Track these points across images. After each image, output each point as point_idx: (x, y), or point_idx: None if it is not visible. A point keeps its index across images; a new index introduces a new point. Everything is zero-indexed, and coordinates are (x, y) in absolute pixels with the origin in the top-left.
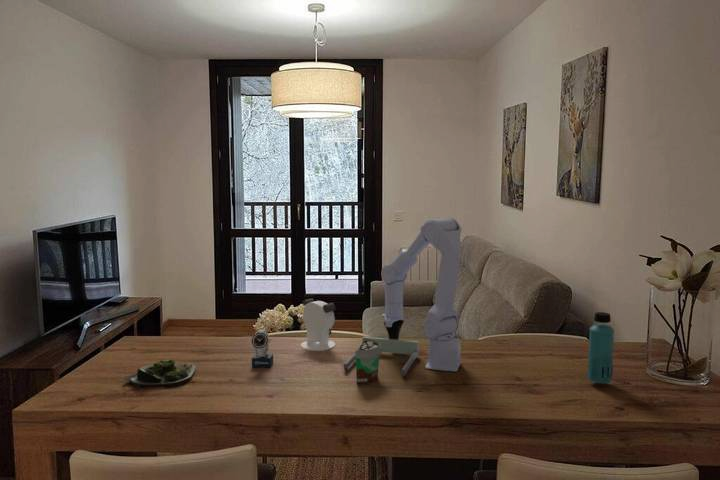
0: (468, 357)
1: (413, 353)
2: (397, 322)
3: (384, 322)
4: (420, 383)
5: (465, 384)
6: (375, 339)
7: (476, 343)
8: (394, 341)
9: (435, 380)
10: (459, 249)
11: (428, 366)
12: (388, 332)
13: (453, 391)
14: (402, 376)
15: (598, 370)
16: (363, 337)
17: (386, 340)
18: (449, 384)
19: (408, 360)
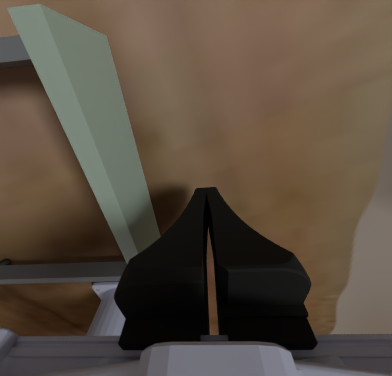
0: (212, 319)
1: (118, 277)
2: (219, 334)
3: (130, 288)
4: (13, 287)
5: (75, 326)
6: (80, 150)
7: (313, 320)
8: (122, 246)
9: (52, 300)
10: None
11: (100, 289)
12: (175, 225)
13: (33, 320)
14: (1, 261)
15: None
16: (18, 25)
17: (108, 215)
18: (54, 314)
19: (51, 278)
